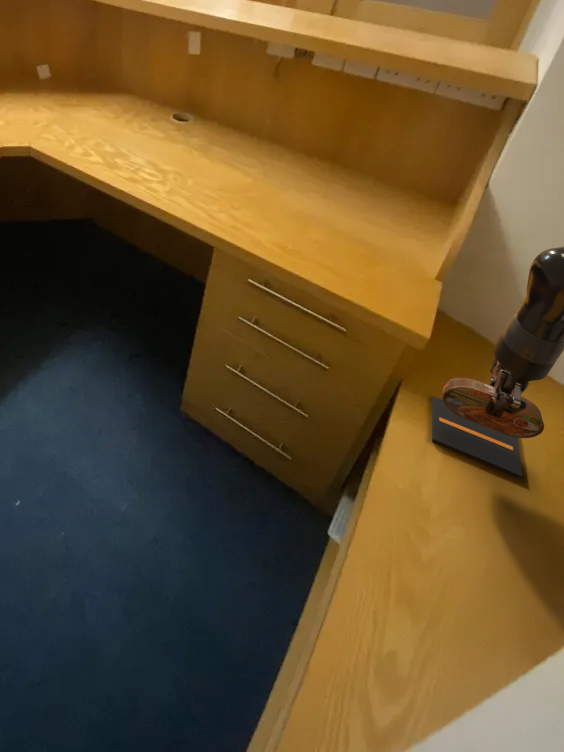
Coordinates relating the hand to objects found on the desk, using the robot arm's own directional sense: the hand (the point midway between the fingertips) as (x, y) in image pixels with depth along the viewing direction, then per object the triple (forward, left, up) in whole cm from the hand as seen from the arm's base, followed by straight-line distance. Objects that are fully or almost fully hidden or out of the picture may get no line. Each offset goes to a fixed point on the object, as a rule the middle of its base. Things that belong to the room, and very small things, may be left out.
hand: (491, 406), depth 92 cm
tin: (0, 0, -4) cm, 4 cm away
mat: (0, 0, -10) cm, 10 cm away
